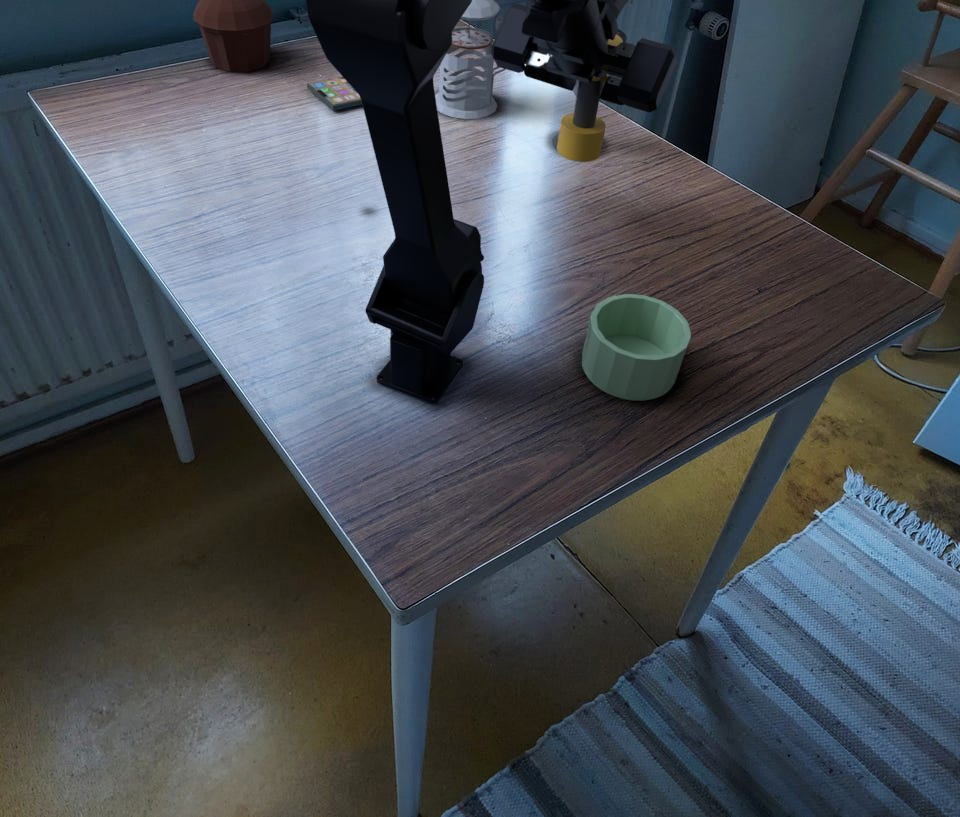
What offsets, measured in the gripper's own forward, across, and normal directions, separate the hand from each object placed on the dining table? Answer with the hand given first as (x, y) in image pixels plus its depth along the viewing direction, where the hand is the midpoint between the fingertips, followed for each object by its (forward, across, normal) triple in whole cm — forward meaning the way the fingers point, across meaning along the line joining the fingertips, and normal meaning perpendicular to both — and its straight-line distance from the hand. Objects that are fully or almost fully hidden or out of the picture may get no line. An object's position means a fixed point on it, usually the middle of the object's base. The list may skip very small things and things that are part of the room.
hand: (593, 92), depth 89 cm
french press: (+22, +24, -1) cm, 33 cm away
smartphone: (+18, +39, +3) cm, 43 cm away
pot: (-7, -17, +28) cm, 33 cm away
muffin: (+16, +60, +5) cm, 62 cm away
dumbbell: (+4, 0, +6) cm, 7 cm away
